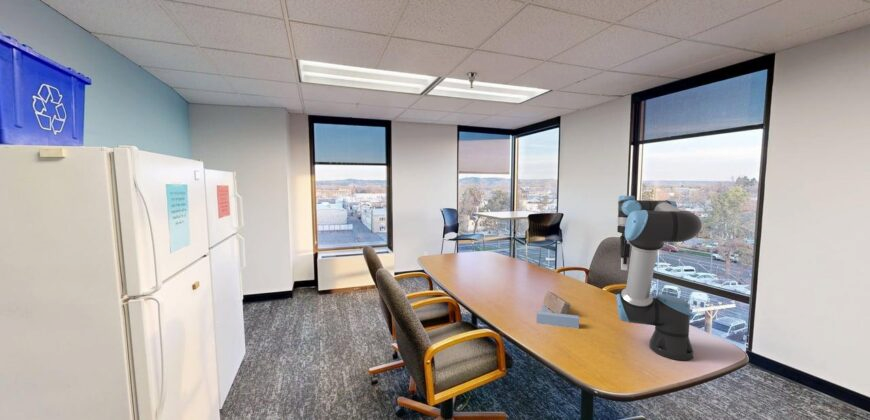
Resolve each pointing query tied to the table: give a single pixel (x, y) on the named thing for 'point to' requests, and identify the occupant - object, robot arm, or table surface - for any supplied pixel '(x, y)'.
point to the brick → (556, 303)
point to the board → (557, 319)
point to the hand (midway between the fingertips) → (624, 269)
